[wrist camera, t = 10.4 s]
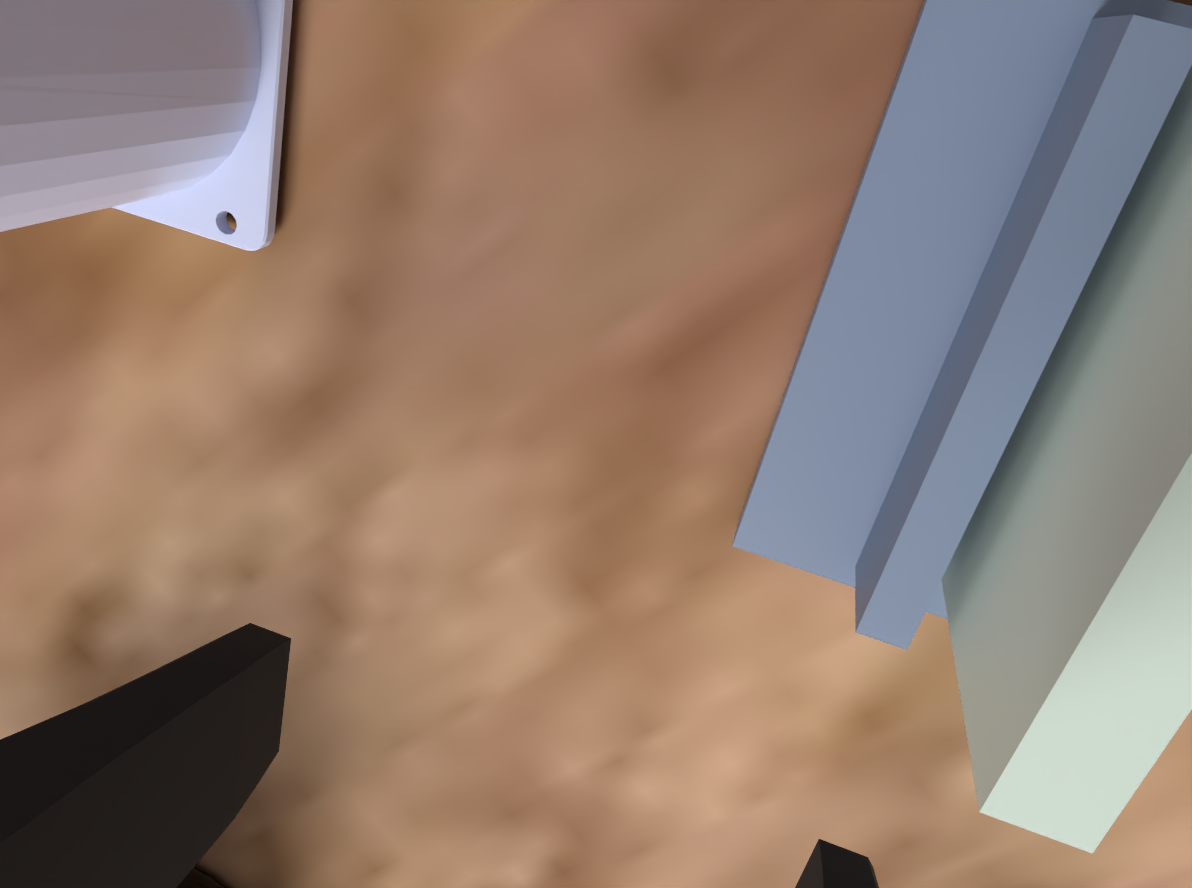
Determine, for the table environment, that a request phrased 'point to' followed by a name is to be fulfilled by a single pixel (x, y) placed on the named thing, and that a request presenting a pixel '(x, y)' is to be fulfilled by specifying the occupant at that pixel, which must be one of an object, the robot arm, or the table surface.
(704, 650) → the table surface
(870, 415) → the sheet stand
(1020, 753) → the pale green slab
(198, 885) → the ink bottle
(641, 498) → the table surface
